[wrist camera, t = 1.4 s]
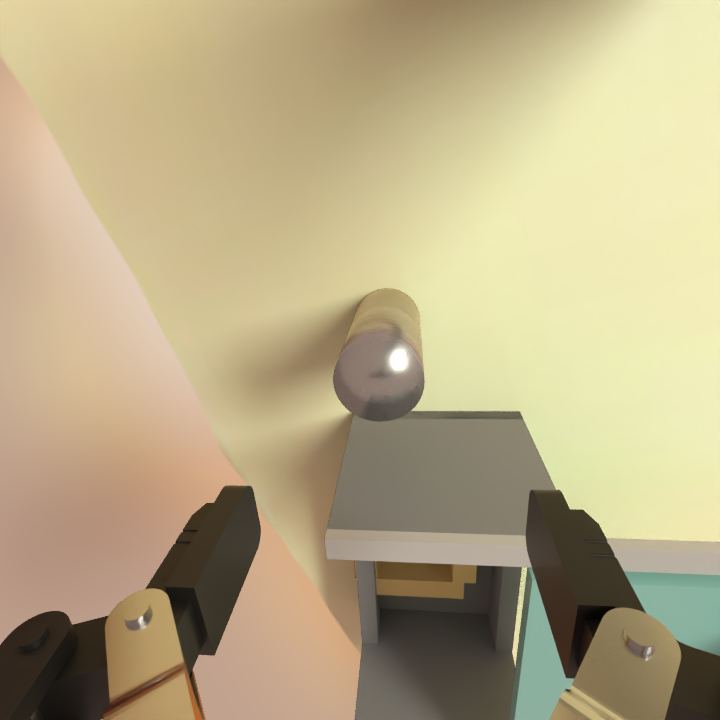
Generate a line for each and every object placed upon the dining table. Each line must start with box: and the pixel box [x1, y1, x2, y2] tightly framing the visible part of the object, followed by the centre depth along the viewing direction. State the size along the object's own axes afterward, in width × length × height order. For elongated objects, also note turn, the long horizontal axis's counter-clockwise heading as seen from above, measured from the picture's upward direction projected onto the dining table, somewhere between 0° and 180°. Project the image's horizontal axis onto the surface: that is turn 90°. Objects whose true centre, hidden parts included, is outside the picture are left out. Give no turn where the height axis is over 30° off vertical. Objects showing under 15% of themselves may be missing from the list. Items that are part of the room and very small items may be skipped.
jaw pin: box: [333, 288, 424, 422], centre depth 24 cm, size 4×4×9 cm
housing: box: [324, 411, 720, 720], centre depth 28 cm, size 19×20×12 cm
